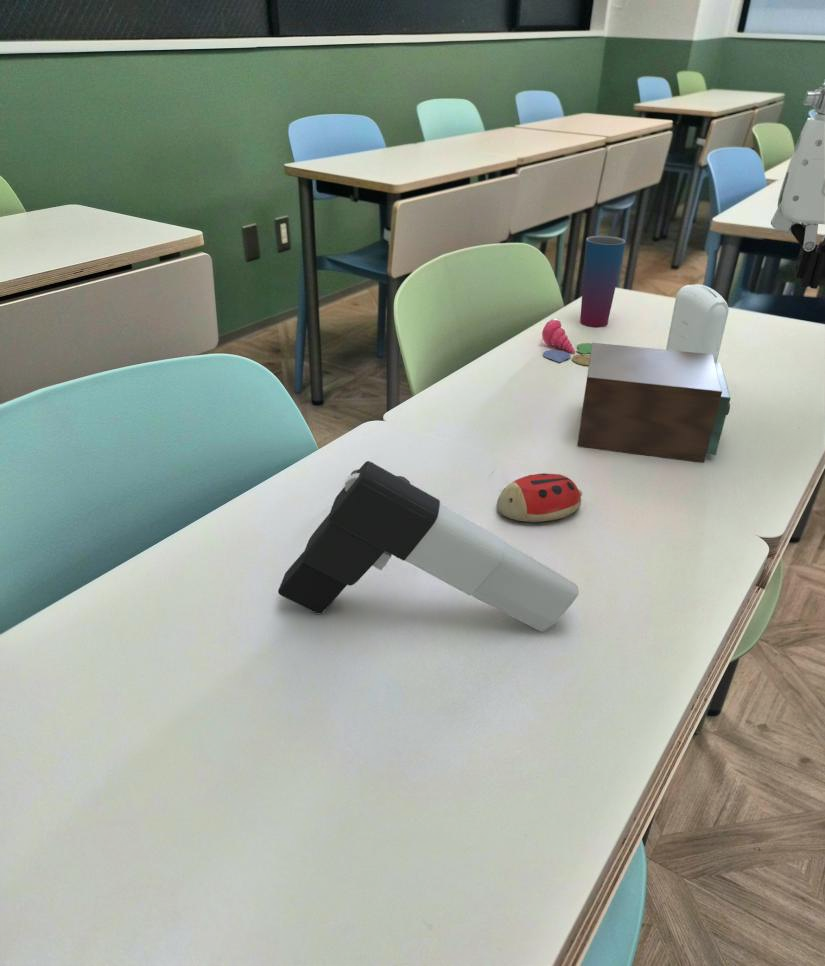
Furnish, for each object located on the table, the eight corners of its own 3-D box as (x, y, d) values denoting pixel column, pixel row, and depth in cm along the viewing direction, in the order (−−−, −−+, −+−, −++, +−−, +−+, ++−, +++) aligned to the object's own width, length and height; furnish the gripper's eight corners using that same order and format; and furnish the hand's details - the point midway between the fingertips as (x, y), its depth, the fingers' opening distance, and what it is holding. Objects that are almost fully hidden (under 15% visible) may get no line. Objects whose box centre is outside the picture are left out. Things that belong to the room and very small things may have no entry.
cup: (605, 331, 132) (618, 246, 125) (569, 324, 135) (580, 241, 128) (617, 321, 137) (630, 238, 129) (582, 314, 140) (594, 234, 133)
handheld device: (286, 569, 68) (362, 450, 61) (486, 672, 72) (579, 572, 65) (275, 596, 64) (353, 474, 57) (485, 702, 68) (584, 600, 61)
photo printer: (661, 352, 123) (675, 279, 117) (684, 350, 124) (699, 277, 118) (693, 375, 115) (711, 297, 108) (718, 373, 116) (737, 296, 109)
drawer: (717, 417, 100) (730, 364, 96) (726, 456, 90) (741, 399, 86) (599, 404, 103) (608, 351, 99) (596, 440, 94) (605, 384, 90)
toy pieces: (523, 354, 122) (526, 329, 119) (552, 336, 130) (555, 312, 127) (591, 371, 116) (595, 344, 114) (617, 350, 124) (621, 325, 122)
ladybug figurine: (486, 500, 83) (488, 473, 81) (563, 486, 85) (567, 460, 84) (512, 532, 77) (514, 504, 75) (593, 516, 80) (598, 489, 78)
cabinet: (697, 419, 101) (712, 354, 96) (704, 462, 91) (722, 391, 86) (582, 406, 104) (592, 342, 100) (577, 446, 94) (587, 376, 89)
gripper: (786, 105, 73) (741, 288, 82) (955, 110, 69) (888, 300, 79) (774, 100, 79) (733, 271, 88) (928, 105, 76) (869, 281, 85)
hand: (806, 284), depth 84 cm, fingers closed
